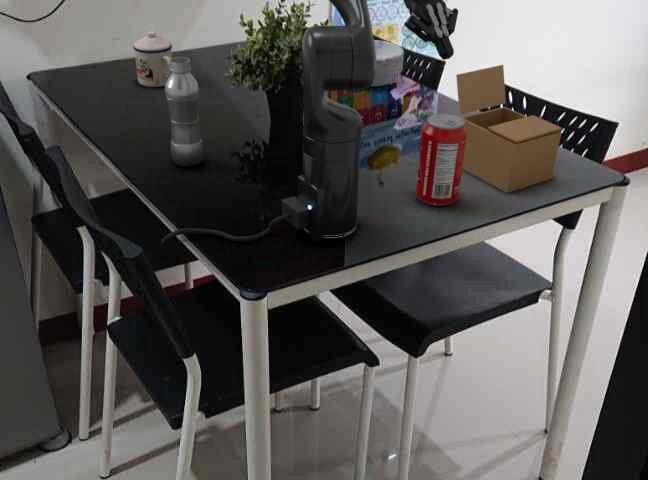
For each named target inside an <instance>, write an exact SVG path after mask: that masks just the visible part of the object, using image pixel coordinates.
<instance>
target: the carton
mask: <svg viewBox="0 0 648 480" xmlns="http://www.w3.org/2000/svg"><path fill="white" fill-rule="evenodd" d="M461 118H462V119H463V120H464V121H465V124H464V125H465V127H466V129H467V139H466V146H465V154H464V161H463V168H462V170H464V171H466V172H468V173H469V174H471V175H474V176H475V177H477V178H479V179H481V180H483V181H484V182H486V183H488V184H489V185H491V186H493V187H495V188H497V189H499V190H500V191H503V192H504V193H506V194H508V193H511V192H514V191H518V190H520V189H524V188H528V187H531V186H533V185H537V184H539V183H543V182H546V181H549V180H552V178H553V174H554V169H555V165H556V160H557V157H558V156H557V155H558V151H559V146H560V141H561V138H562V133H563V132H562V130H563V127H560V126H559V125H556V124H555V123H552V122H550V121H548V120H545V119H543V118H541V117H538V116H537V115H534V114H533V115H528V116H526V115H524V114H523V113H520V112H518V111H515V110H513V109H511V108H509V107H507V106H502V107H498V108H495V109H494V108H493V109H491V110H487V111H482V112H479V113H478V112H477V113H474V114H470V115H466V116H462V117H461Z"/></svg>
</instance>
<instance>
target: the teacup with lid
mask: <svg viewBox="0 0 648 480" xmlns="http://www.w3.org/2000/svg"><path fill="white" fill-rule="evenodd" d="M172 48H173V44H172V42H171V40H168V39H167V38H163V37H161V36H159V35H157V34H156V32H155V31H147V33H146V36H144V37H142V38H141V39H137V40H136V41H134V42H133V45H132V49H133V50H134V57H135V59H134V60H135V67H136V74H137V82H138V84H140V85H141V86H143V87H149V88H161V87H165V85H166V82H167V80H168V78H169V77H170V75H171V74H172V72H171V71H170V59H171V58H173V51H172Z"/></svg>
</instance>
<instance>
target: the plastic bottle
mask: <svg viewBox="0 0 648 480" xmlns="http://www.w3.org/2000/svg"><path fill="white" fill-rule="evenodd" d="M170 71H171V72H172V74H171V75H170V77H169V78H168V80H167V82H166V85H165V86H164V93H165V97H166V102H167V106H168V110H169V117H170V124H171V125H170V128H171V129H170V130H171V132H170V133H171V134H170V135H171V140H170V155H171V158H172V160H173V162H174V163H175V164H176V165H177V166H182V167H194V166H196V165H197V166H198V165H199V164H200V163H202V161H203V160H204V157H205V147H204V141H203V139H202V134H201V127H200V118H199V115H200V114H199V104H200V86H199V83H198V81H197V80H196V79H195V77H194V76H193V75H192V73H191V71H192V66H191V61H190V58H188V57H185V56H175V57H172V58H171V59H170Z"/></svg>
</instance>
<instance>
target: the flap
mask: <svg viewBox="0 0 648 480" xmlns="http://www.w3.org/2000/svg"><path fill="white" fill-rule="evenodd" d="M504 70H505V69H504V64H500V65H495V66H491V67H486V68H482V69H477V70H472V71H468V72H461V73H457V74H456V75H455V76H456V89H457V99H458V113H459V115H464V114H468V113H472V112H476V111H477V112H478V111H481V110H484V109H485V110H486V109H489V108H492V107H497V106H501V105H505V104H506V103H507V101H506V88H505V87H506V86H505V71H504Z"/></svg>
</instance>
